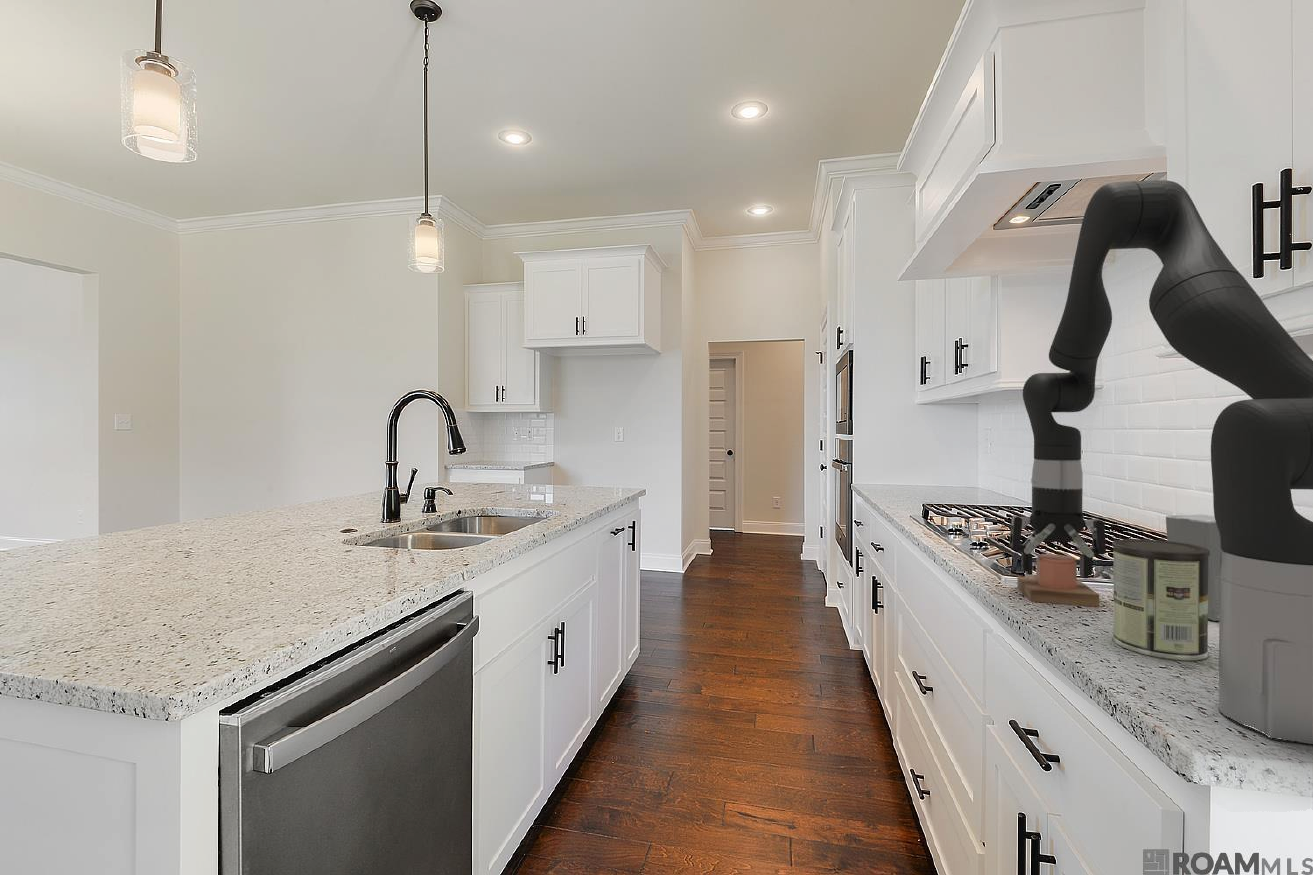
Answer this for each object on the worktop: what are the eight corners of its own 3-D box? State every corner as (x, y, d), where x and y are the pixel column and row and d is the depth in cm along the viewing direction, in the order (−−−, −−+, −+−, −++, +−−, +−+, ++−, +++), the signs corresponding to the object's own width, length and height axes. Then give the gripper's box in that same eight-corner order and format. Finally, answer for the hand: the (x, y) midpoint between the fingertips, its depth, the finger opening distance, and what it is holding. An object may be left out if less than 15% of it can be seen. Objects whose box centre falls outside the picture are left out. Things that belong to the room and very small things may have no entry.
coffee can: (1153, 632, 90) (1154, 537, 89) (1230, 658, 79) (1231, 551, 79) (1092, 636, 88) (1093, 539, 88) (1163, 664, 78) (1164, 554, 77)
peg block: (1099, 606, 102) (1099, 571, 102) (1031, 601, 105) (1031, 567, 105) (1079, 591, 111) (1079, 558, 111) (1017, 586, 115) (1017, 555, 115)
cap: (1079, 590, 105) (1079, 561, 105) (1042, 587, 107) (1042, 559, 106) (1069, 582, 110) (1069, 555, 110) (1033, 580, 112) (1034, 553, 112)
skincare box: (1254, 622, 94) (1256, 520, 93) (1207, 622, 94) (1208, 520, 94) (1206, 606, 102) (1207, 512, 102) (1163, 606, 102) (1164, 512, 102)
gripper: (1016, 486, 107) (1015, 577, 107) (1112, 488, 102) (1111, 584, 102) (1006, 482, 114) (1006, 568, 114) (1096, 484, 109) (1095, 573, 109)
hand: (1056, 575), depth 108 cm, fingers open, 8 cm apart
